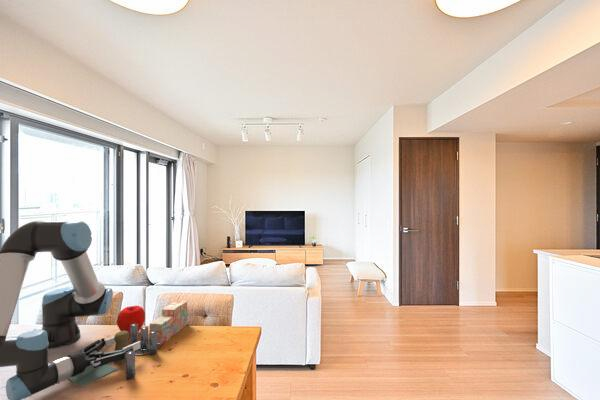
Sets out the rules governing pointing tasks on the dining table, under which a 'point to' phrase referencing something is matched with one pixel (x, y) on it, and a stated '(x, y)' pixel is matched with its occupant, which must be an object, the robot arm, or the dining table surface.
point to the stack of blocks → (170, 321)
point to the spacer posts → (144, 345)
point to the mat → (91, 374)
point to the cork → (121, 342)
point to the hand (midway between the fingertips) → (130, 340)
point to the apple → (130, 318)
